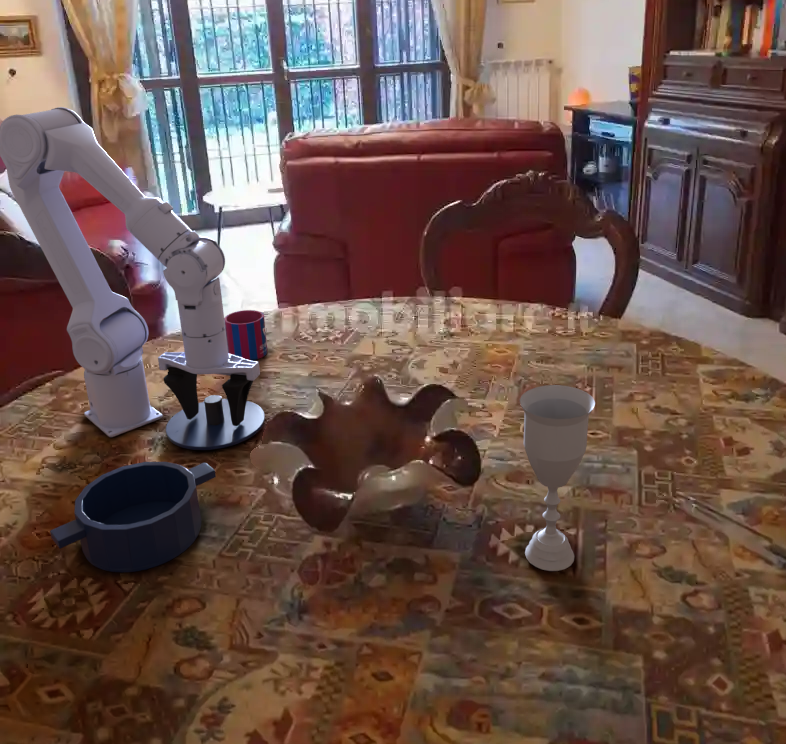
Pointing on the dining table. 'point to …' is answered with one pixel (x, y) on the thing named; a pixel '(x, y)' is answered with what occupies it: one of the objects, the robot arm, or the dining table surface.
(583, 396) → the chalice
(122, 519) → the pot
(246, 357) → the mug
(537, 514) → the dining table surface
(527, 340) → the dining table surface
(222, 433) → the lid
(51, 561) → the dining table surface
